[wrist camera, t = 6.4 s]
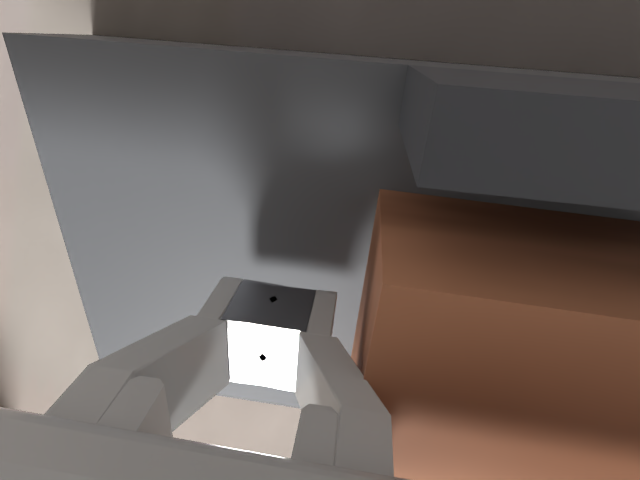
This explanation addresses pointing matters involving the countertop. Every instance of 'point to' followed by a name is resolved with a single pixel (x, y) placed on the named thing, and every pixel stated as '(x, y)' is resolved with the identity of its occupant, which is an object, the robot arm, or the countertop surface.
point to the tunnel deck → (290, 163)
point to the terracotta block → (503, 339)
